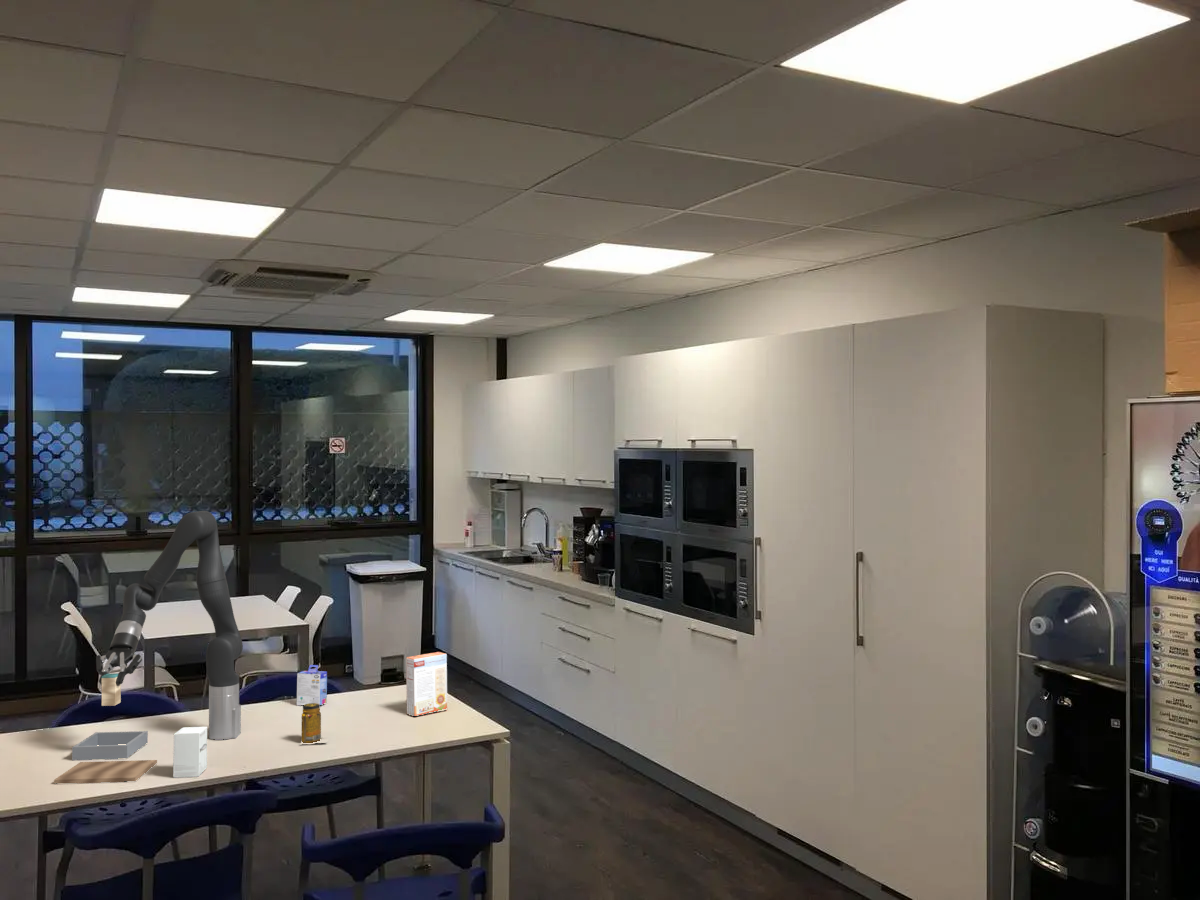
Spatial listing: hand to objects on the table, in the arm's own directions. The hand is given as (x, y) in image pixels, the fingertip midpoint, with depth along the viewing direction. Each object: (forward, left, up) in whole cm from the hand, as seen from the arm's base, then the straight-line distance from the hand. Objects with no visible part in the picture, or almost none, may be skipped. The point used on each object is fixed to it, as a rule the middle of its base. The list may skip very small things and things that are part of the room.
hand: (109, 684), depth 290 cm
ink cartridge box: (-49, -58, -22) cm, 79 cm away
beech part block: (0, -1, -6) cm, 6 cm away
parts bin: (+1, -4, -22) cm, 22 cm away
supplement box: (-31, +20, -22) cm, 43 cm away
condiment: (-60, -9, -22) cm, 65 cm away
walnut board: (-7, +18, -22) cm, 29 cm away
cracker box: (-93, -42, -22) cm, 104 cm away
